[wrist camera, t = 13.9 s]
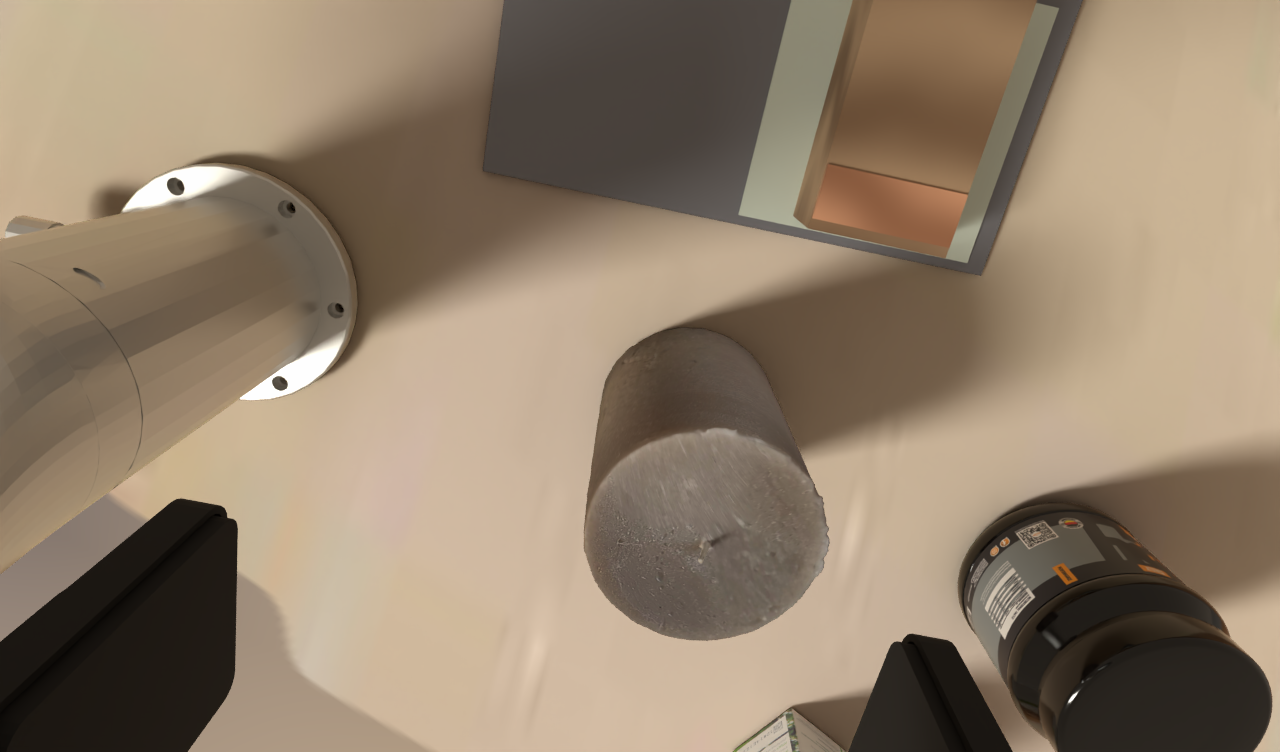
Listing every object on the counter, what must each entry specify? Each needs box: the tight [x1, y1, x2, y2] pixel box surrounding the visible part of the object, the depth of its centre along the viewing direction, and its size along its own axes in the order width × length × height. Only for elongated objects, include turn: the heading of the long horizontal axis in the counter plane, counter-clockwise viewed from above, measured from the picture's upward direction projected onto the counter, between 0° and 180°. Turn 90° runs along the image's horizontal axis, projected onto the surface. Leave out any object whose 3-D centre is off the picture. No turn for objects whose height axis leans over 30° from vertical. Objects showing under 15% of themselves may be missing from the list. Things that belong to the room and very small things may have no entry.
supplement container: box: [958, 502, 1272, 752], centre depth 40 cm, size 10×10×12 cm
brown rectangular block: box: [793, 0, 1037, 258], centre depth 34 cm, size 11×6×4 cm, turn 168°
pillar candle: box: [584, 328, 830, 641], centre depth 35 cm, size 10×10×15 cm
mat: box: [483, 0, 1083, 276], centre depth 35 cm, size 26×20×1 cm
